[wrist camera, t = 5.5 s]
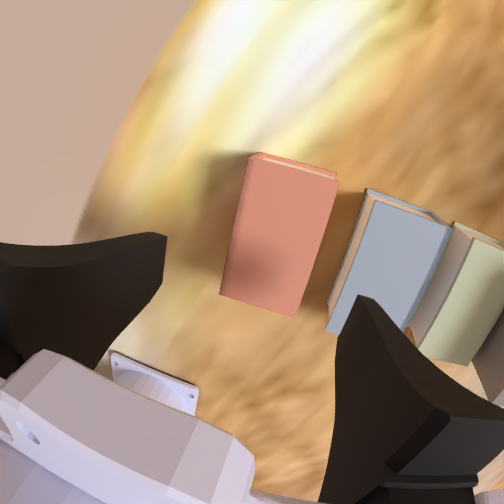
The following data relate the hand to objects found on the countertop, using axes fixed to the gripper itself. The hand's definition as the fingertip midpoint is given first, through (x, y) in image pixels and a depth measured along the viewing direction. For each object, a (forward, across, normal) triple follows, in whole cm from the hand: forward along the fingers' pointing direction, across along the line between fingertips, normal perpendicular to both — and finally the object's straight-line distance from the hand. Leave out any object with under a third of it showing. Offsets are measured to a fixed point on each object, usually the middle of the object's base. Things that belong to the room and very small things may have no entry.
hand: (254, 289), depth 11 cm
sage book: (+7, -11, 0) cm, 13 cm away
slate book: (+7, -6, 0) cm, 9 cm away
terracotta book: (+7, 0, 0) cm, 7 cm away
